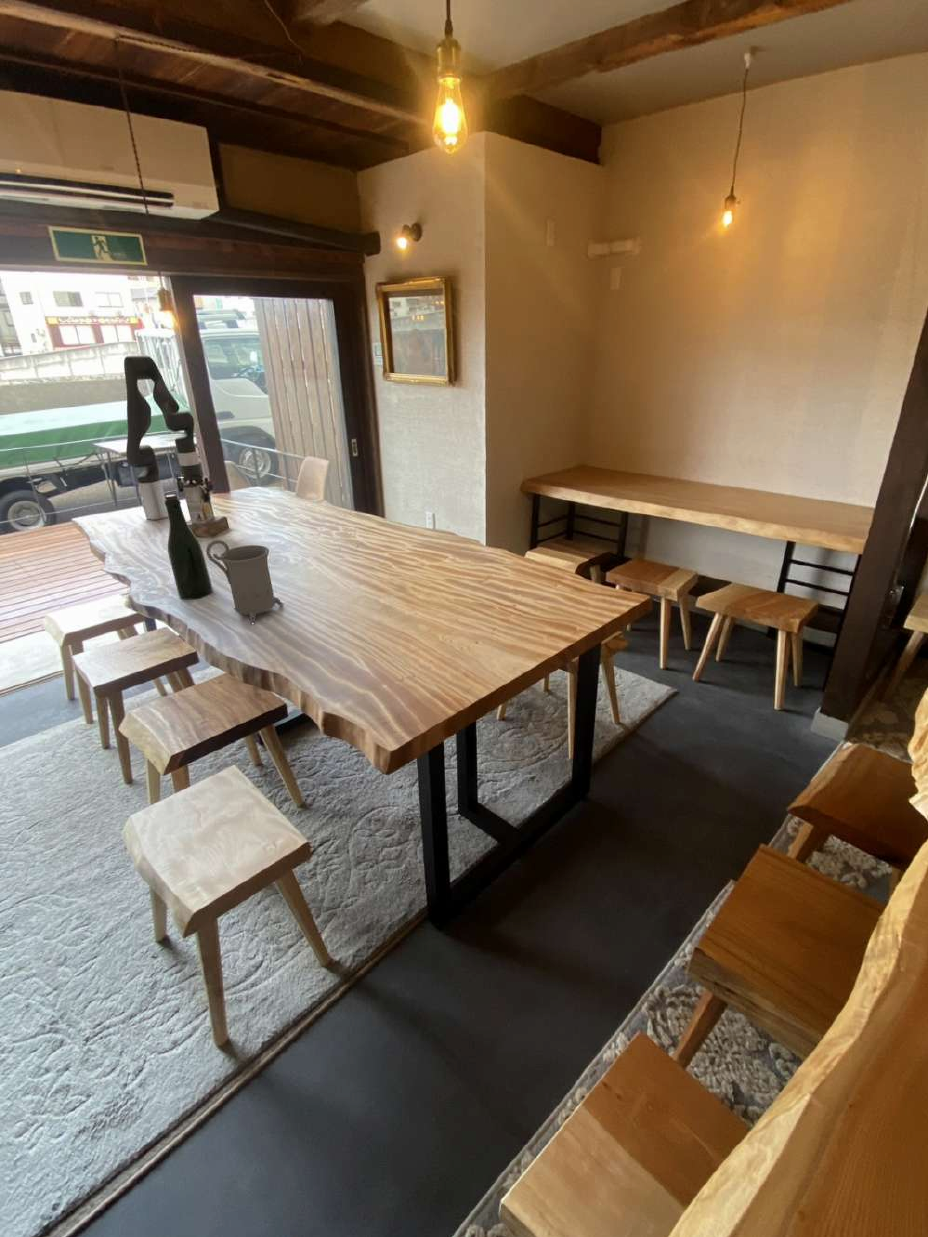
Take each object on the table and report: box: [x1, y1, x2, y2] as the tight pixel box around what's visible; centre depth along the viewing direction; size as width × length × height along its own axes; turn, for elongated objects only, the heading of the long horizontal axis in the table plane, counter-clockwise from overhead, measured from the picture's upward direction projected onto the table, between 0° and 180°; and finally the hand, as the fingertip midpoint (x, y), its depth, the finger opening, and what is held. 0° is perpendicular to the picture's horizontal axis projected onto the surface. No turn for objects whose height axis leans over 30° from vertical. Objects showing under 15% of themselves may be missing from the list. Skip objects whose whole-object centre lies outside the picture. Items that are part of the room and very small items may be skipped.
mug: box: [205, 539, 284, 624], centre depth 175 cm, size 19×15×25 cm
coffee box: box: [182, 481, 215, 524], centre depth 251 cm, size 9×6×16 cm
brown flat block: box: [186, 515, 230, 539], centre depth 256 cm, size 14×14×5 cm
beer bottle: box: [164, 494, 213, 599], centre depth 189 cm, size 10×10×33 cm
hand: (198, 501), depth 251 cm, fingers open, 8 cm apart
